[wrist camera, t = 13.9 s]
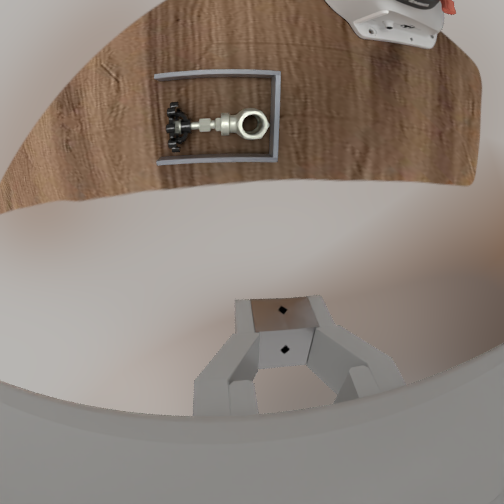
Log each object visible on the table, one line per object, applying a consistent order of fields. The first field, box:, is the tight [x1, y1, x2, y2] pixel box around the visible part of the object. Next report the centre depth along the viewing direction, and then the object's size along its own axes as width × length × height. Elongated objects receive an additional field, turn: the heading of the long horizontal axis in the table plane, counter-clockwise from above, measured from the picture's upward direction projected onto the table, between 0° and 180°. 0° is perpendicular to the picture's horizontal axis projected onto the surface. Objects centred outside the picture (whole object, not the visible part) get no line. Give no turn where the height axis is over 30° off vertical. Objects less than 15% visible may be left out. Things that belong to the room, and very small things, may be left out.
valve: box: [166, 102, 270, 152], centre depth 31 cm, size 7×7×12 cm
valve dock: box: [154, 69, 281, 165], centre depth 32 cm, size 16×12×3 cm
